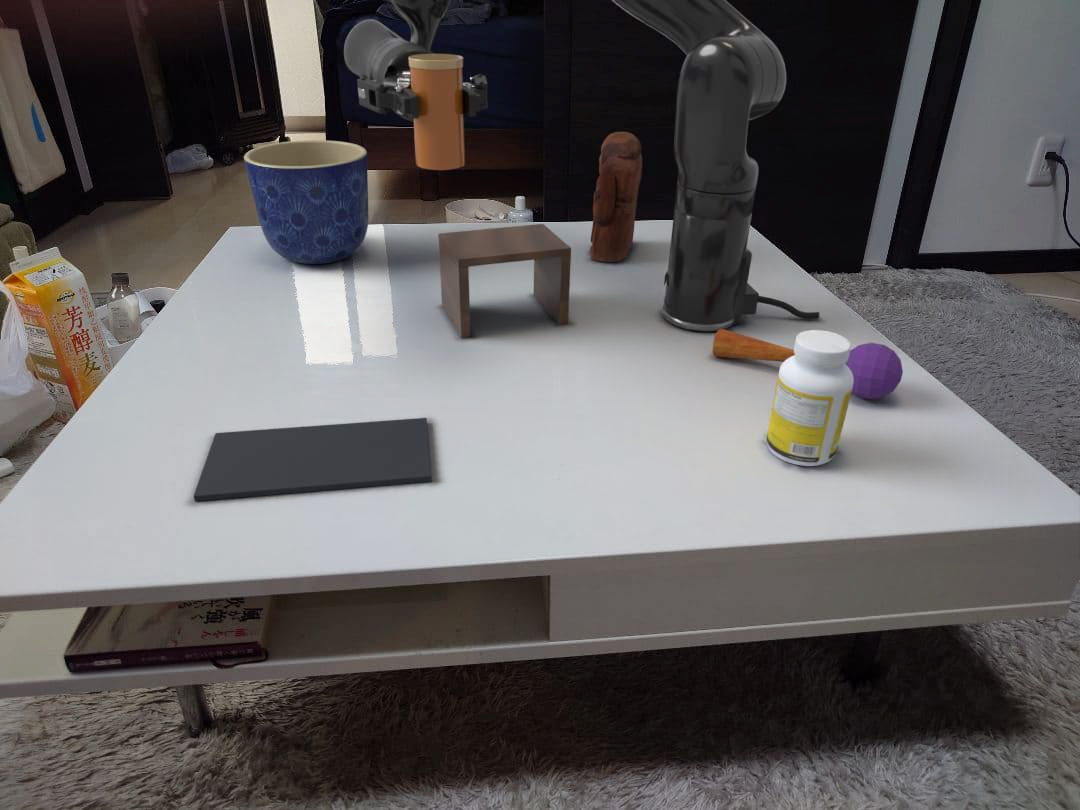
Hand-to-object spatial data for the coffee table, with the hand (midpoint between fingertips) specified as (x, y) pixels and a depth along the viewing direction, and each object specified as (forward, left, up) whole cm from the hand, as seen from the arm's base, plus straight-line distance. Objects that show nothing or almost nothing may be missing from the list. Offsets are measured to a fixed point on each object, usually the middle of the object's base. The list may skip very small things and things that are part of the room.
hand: (444, 106), depth 73 cm
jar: (0, -3, -6) cm, 7 cm away
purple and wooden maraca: (-38, +8, -28) cm, 48 cm away
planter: (+18, -39, -28) cm, 51 cm away
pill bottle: (-31, +22, -28) cm, 47 cm away
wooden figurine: (-27, -35, -28) cm, 53 cm away
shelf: (-7, -13, -28) cm, 32 cm away
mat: (+14, +17, -28) cm, 35 cm away
